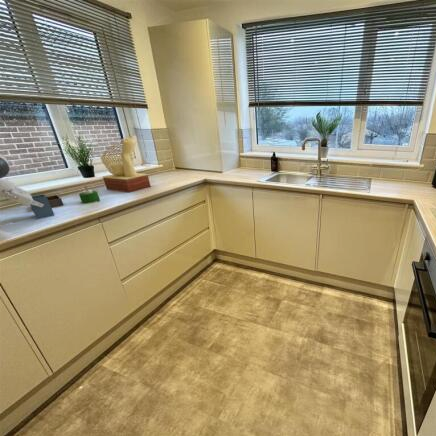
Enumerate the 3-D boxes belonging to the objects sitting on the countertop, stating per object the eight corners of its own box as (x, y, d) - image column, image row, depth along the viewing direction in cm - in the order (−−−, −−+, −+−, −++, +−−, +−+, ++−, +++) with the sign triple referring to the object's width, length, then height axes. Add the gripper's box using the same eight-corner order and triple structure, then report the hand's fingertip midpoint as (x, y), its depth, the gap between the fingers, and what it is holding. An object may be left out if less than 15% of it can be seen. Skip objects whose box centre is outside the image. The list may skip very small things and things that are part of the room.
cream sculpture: (152, 186, 171) (139, 135, 158) (128, 193, 156) (112, 136, 143) (129, 184, 180) (115, 135, 167) (104, 190, 165) (86, 136, 152)
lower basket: (33, 212, 125) (29, 204, 123) (31, 207, 132) (27, 199, 131) (64, 206, 134) (61, 198, 132) (60, 202, 141) (57, 194, 139)
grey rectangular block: (36, 219, 116) (27, 199, 112) (35, 216, 120) (26, 197, 116) (54, 215, 120) (46, 196, 117) (52, 212, 124) (44, 194, 120)
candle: (82, 201, 141) (76, 185, 137) (99, 198, 145) (94, 182, 142) (81, 205, 135) (75, 187, 131) (100, 202, 139) (94, 185, 135)
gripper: (8, 186, 102) (48, 202, 113) (7, 180, 115) (43, 195, 125) (-3, 199, 101) (39, 214, 111) (-2, 191, 113) (35, 205, 124)
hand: (41, 204), depth 118 cm, fingers closed on grey rectangular block, 6 cm apart
